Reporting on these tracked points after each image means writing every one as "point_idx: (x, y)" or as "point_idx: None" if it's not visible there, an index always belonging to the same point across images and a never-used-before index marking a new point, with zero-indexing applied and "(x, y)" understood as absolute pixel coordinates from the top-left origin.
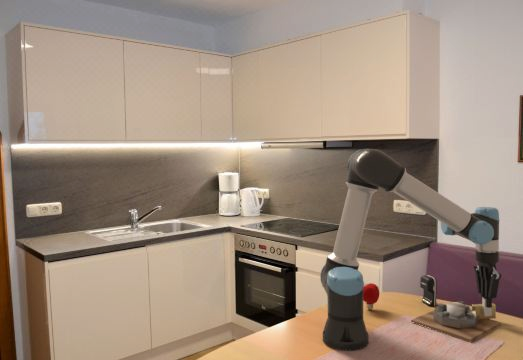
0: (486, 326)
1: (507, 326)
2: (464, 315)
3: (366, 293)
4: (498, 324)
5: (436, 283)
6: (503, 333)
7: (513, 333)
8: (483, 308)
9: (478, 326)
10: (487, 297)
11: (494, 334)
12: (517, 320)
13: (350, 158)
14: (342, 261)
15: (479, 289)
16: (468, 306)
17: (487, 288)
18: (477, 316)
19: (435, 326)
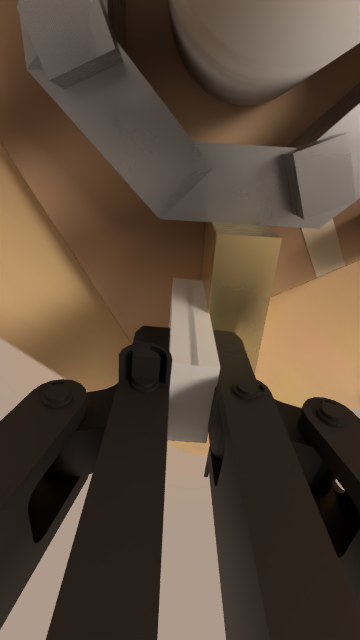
0: (86, 214)
1: (117, 361)
2: (183, 38)
3: None
4: (117, 320)
5: None
6: (19, 273)
7: (18, 326)
8: (187, 302)
9: (93, 149)
10: (119, 388)
11: (3, 204)
12: (179, 447)
13: None
14: None
15: (333, 447)
16: (299, 198)
17: (79, 531)
18: (117, 169)
19: None
